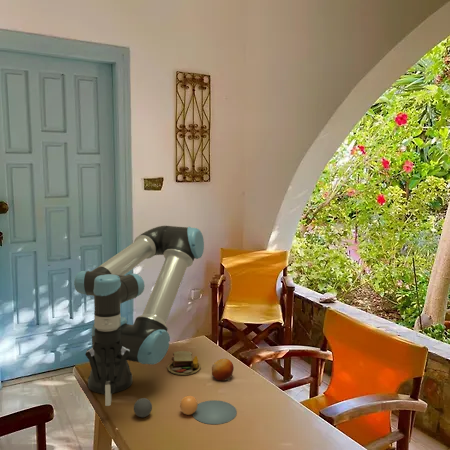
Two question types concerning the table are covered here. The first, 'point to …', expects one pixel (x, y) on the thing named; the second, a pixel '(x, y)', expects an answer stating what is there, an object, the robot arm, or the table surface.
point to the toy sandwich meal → (184, 363)
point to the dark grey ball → (142, 407)
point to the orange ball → (188, 405)
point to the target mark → (214, 412)
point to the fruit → (222, 369)
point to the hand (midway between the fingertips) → (108, 403)
